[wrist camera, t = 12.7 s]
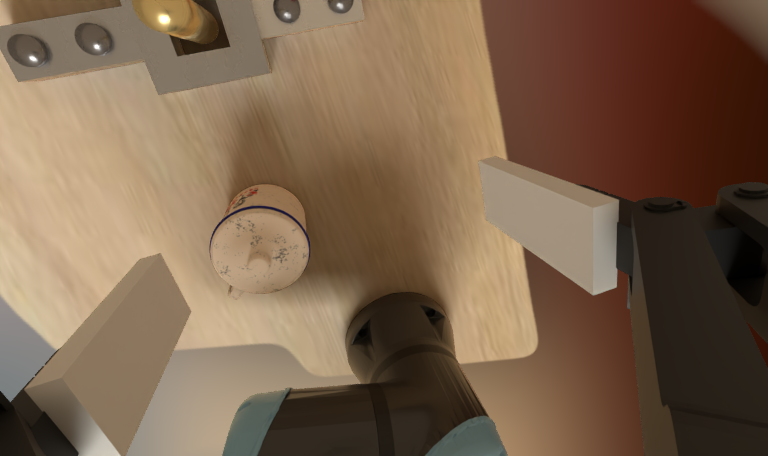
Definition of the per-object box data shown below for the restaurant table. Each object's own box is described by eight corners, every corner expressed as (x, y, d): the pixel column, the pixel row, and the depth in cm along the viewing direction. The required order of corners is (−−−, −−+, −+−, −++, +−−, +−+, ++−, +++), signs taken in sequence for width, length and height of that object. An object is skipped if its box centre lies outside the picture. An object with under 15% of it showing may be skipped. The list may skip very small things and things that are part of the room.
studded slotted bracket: (368, 53, 39) (374, 52, 36) (58, 114, 35) (34, 119, 32) (347, -64, 35) (352, -78, 31) (-8, -9, 31) (-43, -18, 28)
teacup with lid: (246, 166, 40) (229, 199, 30) (321, 203, 44) (329, 245, 33) (200, 256, 43) (170, 315, 33) (274, 284, 46) (269, 347, 36)
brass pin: (223, 41, 36) (191, 27, 25) (190, 46, 35) (144, 36, 24) (211, 5, 34) (173, -26, 24) (177, 10, 34) (123, -18, 23)
